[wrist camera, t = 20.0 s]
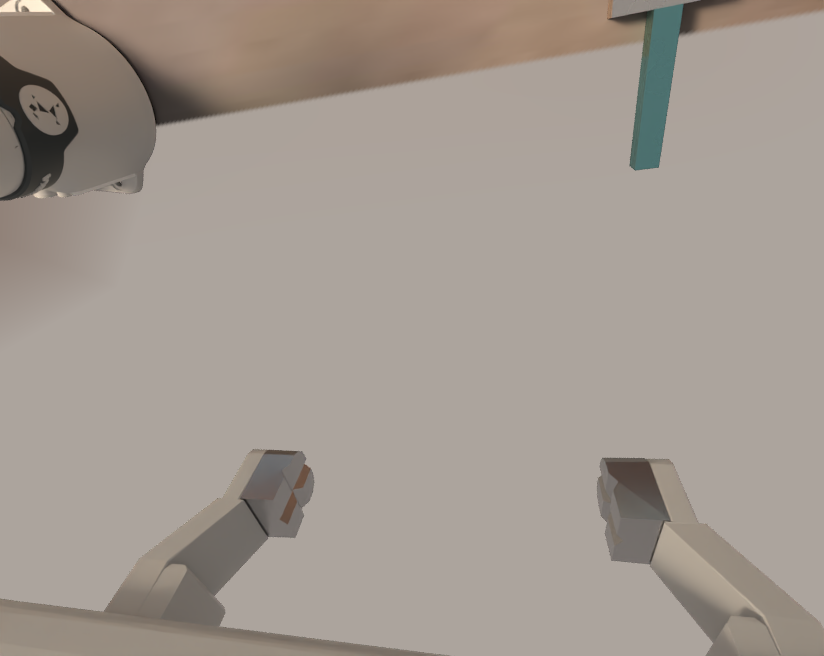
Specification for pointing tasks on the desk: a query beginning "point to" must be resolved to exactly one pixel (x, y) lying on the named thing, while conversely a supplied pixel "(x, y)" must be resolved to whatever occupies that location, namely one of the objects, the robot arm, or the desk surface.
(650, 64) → the turner
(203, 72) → the desk surface
